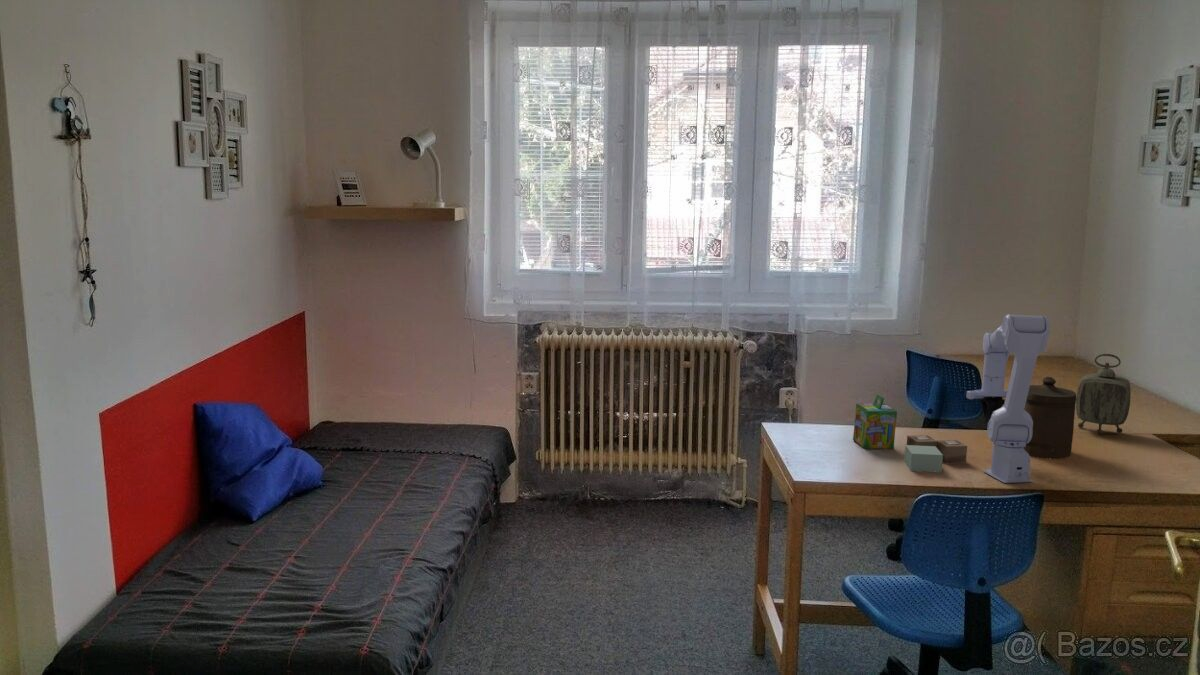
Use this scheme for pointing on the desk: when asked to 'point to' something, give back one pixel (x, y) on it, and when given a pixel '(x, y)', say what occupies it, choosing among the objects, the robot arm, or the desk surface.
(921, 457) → the sage block
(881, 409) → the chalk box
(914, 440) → the walnut block
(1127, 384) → the tabletop clock
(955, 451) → the walnut block
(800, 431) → the desk surface
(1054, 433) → the wooden container
